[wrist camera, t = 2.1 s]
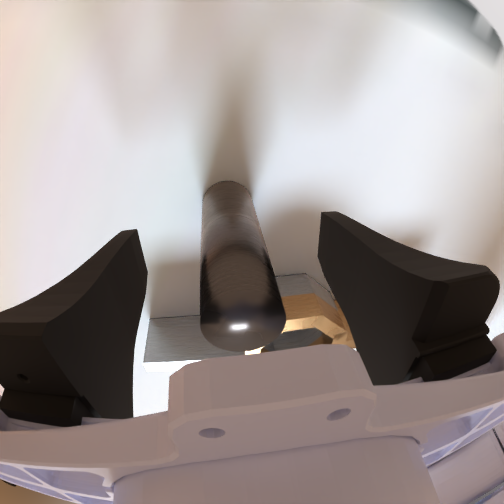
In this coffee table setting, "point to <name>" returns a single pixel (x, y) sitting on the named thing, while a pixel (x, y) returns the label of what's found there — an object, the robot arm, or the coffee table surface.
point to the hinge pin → (236, 274)
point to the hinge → (297, 318)
